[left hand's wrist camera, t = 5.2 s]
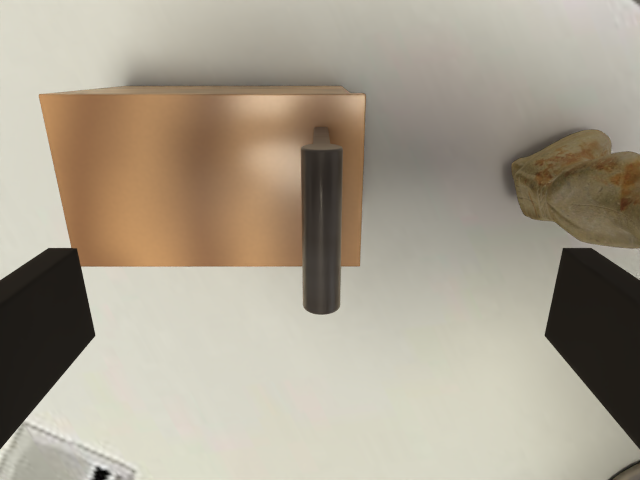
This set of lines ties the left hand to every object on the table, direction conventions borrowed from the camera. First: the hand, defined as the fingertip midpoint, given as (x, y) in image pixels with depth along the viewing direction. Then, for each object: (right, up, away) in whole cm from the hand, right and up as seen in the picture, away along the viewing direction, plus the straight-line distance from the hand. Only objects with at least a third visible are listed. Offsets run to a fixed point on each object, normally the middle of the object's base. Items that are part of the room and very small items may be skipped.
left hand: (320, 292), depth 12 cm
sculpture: (+17, +7, +21) cm, 28 cm away
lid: (-6, +5, +12) cm, 14 cm away
